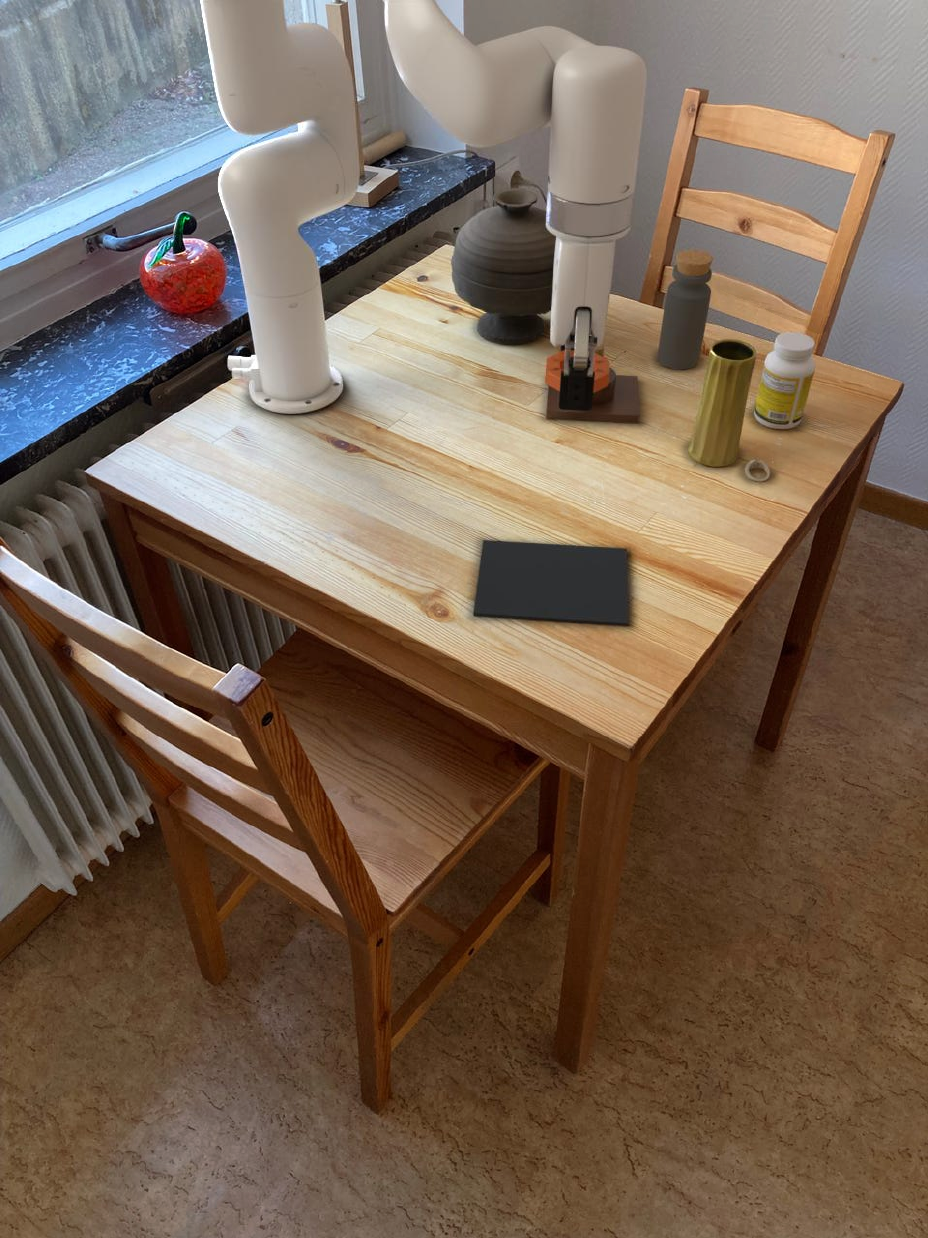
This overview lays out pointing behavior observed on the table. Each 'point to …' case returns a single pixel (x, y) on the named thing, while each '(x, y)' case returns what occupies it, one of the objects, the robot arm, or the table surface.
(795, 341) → the pill bottle
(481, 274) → the pot
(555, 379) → the orange ring
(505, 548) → the mat
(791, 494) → the table surface
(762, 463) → the ring
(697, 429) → the vase
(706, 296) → the bottle
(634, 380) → the stand
